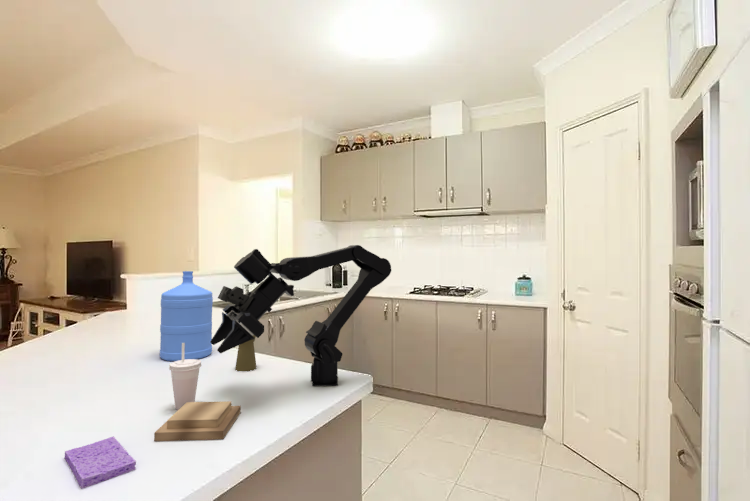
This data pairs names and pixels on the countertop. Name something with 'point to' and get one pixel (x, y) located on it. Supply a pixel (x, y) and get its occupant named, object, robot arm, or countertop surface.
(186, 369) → the smoothie
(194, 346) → the water jug
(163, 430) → the walnut base
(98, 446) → the sponges
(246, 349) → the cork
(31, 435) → the countertop surface
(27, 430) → the countertop surface
